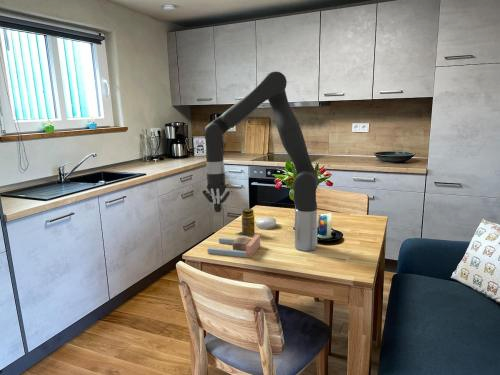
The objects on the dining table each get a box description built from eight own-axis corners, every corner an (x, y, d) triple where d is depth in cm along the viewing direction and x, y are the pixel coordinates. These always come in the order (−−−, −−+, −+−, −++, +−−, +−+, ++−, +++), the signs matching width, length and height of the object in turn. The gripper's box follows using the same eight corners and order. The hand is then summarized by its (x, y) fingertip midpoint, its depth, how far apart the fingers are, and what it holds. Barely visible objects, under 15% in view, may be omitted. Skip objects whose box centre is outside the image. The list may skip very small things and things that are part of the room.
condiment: (258, 234, 179) (257, 210, 176) (243, 238, 174) (242, 213, 172) (249, 230, 185) (249, 207, 182) (235, 233, 180) (234, 210, 178)
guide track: (260, 245, 164) (260, 234, 163) (250, 257, 151) (250, 246, 150) (220, 241, 170) (219, 231, 169) (207, 253, 157) (207, 242, 156)
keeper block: (251, 247, 163) (251, 238, 163) (246, 253, 157) (245, 244, 156) (238, 245, 165) (238, 237, 164) (232, 251, 159) (232, 242, 158)
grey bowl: (277, 224, 194) (277, 217, 193) (273, 230, 185) (273, 223, 184) (259, 222, 197) (259, 216, 196) (254, 228, 188) (254, 222, 187)
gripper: (233, 170, 157) (235, 210, 160) (204, 170, 161) (207, 208, 164) (227, 173, 150) (229, 215, 153) (197, 173, 154) (200, 213, 157)
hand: (218, 211), depth 159 cm, fingers closed
